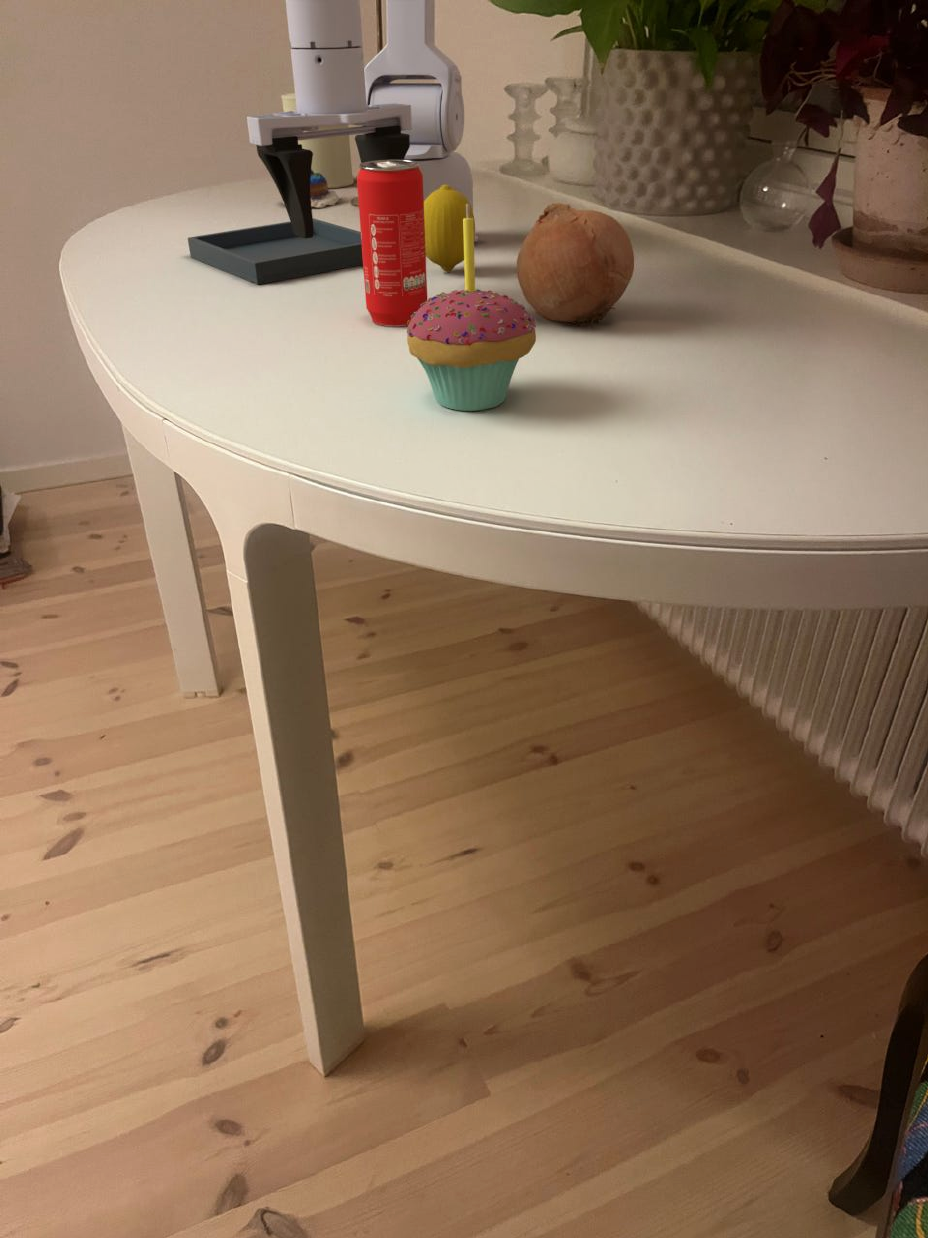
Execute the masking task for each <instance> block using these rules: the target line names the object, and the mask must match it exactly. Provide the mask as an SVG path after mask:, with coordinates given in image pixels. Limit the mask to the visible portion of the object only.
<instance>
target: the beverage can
mask: <svg viewBox="0 0 928 1238" xmlns="http://www.w3.org/2000/svg"><path fill="white" fill-rule="evenodd" d="M358 168H359V170H358V173H357V175H356V185H357V186H356V187H357V188H356V189H357V199H358V200H357V201H358V212H359V213H358V214H359V227H360V232H361V242H362V256H363V264H362V267H363V268H362V269H363V281H364V282H363V283H364V293H365V295H364V296H365V306H366V309H367V311H368V313H369V315H370V317H371V321H372V322H373V324H376V325H379V326H382V327H383V326H384V327H393V328H394V327H408V324H407V322H408V320H411V316H412V314H415V313H414V312H416V311H417V310H418V309H420V308H421V304H422V303H425V302H427V301H428V300H429V299H428V278H427V277H428V276H427V275H428V274H427V256H426V247H425V221H424V195H423V175H422V173H421V171H420V169H419V163H418V162H416V161H410V160H378V161H370V162H365V163H361V162H360V163H359V165H358ZM409 322H410V321H409Z"/></svg>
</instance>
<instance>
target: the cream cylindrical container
mask: <svg viewBox="0 0 928 1238" xmlns="http://www.w3.org/2000/svg"><path fill="white" fill-rule="evenodd" d="M281 101H282V102H281V103H282V109H283V112H288V111H295V110H297V108H296V99H295V92H289V93H284V94H282V95H281ZM340 128H350V127H349V125H335V126H319V130H316V131H320V130H330V129H340ZM304 132H311V131H304ZM298 144H302V149H307V150H311V151H312V152H313V158H312V166H311V169H312V171H313V172H314V173H320V174H321V175H323V177H325V179H326V180H327V184H328V190H330V189H339V188H345V187H348V186H351V185H353V184H354V183H355V180H354V175H353V167H352V157H351V142H350V135H346V136H336V137H327V138H318V139H309V140H299V141H298Z"/></svg>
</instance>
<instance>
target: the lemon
mask: <svg viewBox="0 0 928 1238" xmlns="http://www.w3.org/2000/svg"><path fill="white" fill-rule="evenodd" d="M466 204H469V209H470V218H473V223H474V240H475V236H476V220H475V216H474V210H473V211H472V208H471V205H470V203H469V201H468V200H467V199H466V197H465V196H464V195H463V194H461V193H460V192H458V191H456V190H454V189H452V188H451V187H450V185H446V184H445V185H442V186H441V188H440V189H438V190H436V191H434V192H433V193H431V194H430V195H429V196H428V197H427V198H426V200H425V201H424V221H425V247H426V258H427V259H428V260H429V261H431V262H432V263H433V264H436V265H437V266H439V267H440V268H441V269H442V270H443V271H444V272H445V273H451V272H452V271H453V269H455V267H456V266H458V265H459V264H461V263H463V262H464V233H463V219H464V218H467V216H466Z"/></svg>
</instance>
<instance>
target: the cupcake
mask: <svg viewBox="0 0 928 1238" xmlns="http://www.w3.org/2000/svg"><path fill="white" fill-rule="evenodd" d="M466 216H467V218H464V219H463V233H464V261H463V263H464V264H463V265H464V269H463V270H464V289H462V290H458V289H455V290H453V291H451V292H449V293H448V292H440V294H436V295H435V296H433V297H430V298H429V299H427V300H428V301H427V302H425V303H422V304H421V308H420V309H418V310H417V311H416V312H414V313H415V314H412V316H411V320H408V322H407V324H408V326H407V328H406V335H407V337H406V340H407V347H408V352H409V353H410V355H411V356H413V357H415V358H417V360H418V361H419V363H420V364H421V366H422V368H423V370H424V371H425V374H426V375H427V378H428V382H429V383H430V386H431V389H432V393H433V395H434V399H435V401H436V402H437V404H439V405H440V406H442V407H444V408H447V409H449V410H455V411H462V412H475V411H484V410H485V411H486V410H488V409H493V408H495V407H498V406H499V405H501V404H502V403H503V402H504V401H505V400H506V399H507V398H506V397H507V394H508V390H509V388H510V383H511V381H512V378H513V374H514V372H515V369H516V368H517V364H518V362H519V360H520V359H521V358H523V357H525V356H527V355H528V354H529V353H530V351H531V350H532V349H533V347H534V345H535V343H536V342H537V333H536V329H535V328H537V325H536V323H537V320H536V318H532V316H531V314H530V313H528V311H527V310H526V307H525V305H524V304H522V303H518V301H517V300H515V299H513V298H512V297H509V296H508V295H506V294H500V293H498V292H493V291H492V290H488V291H485V290H480V289H476V275H475V274H476V272H475V271H476V270H475V269H476V268H475V242H474V223H473V218H470V209H469V204H466ZM409 321H410V322H409Z"/></svg>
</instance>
